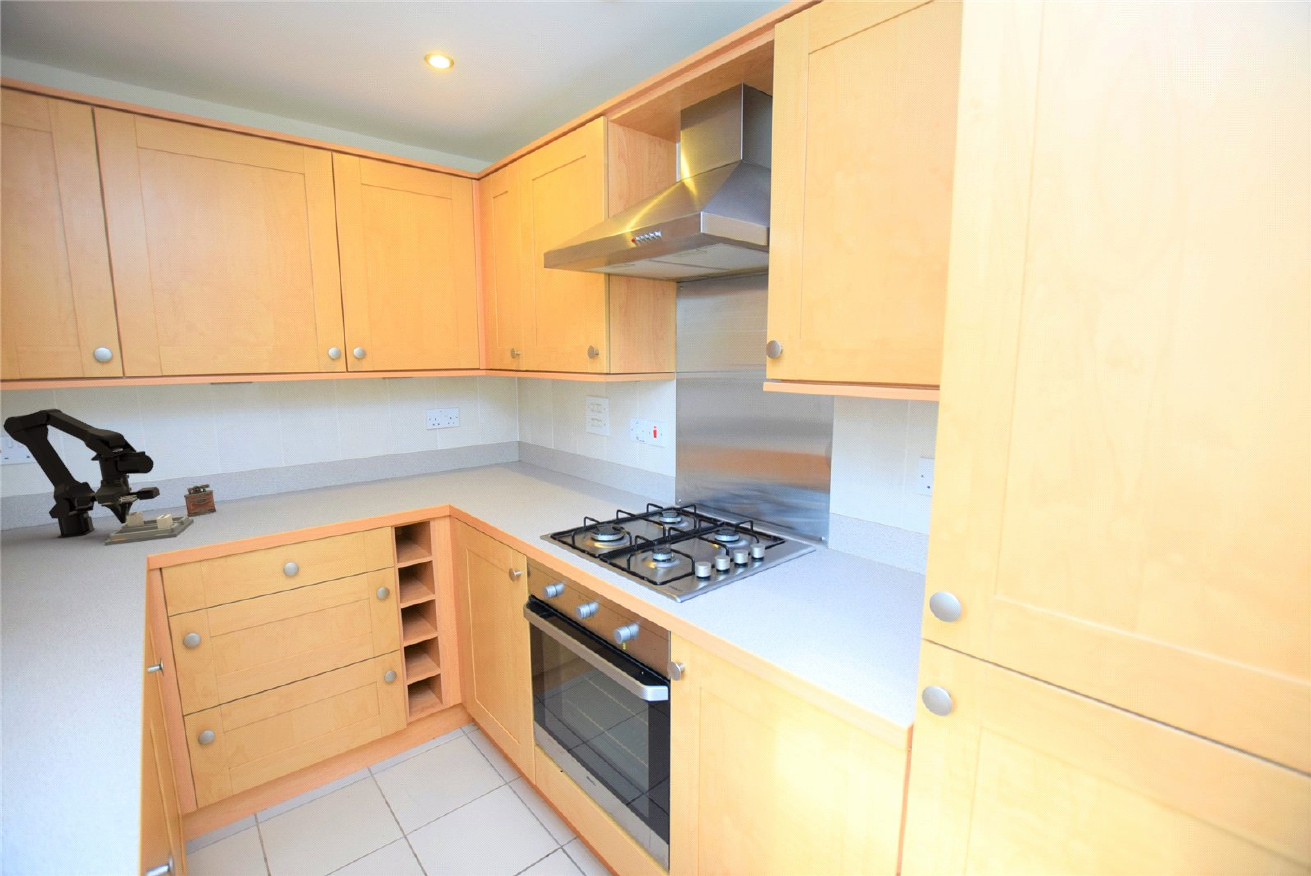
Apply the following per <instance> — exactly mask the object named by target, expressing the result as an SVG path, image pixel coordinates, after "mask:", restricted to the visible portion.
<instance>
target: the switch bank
mask: <svg viewBox="0 0 1311 876" xmlns="http://www.w3.org/2000/svg"><path fill="white" fill-rule="evenodd" d="M156 519H157V518H154V519H153V518H152V519H145V520H144V519H143V521H144V525H136V526H128V524H127V523H124V524H123V525H122V526H121V528H120V529H117V530H114V531H113V532H112V533H110V534H109V535H108V537H109V538H108V539H107V540H105V541H104V544H103V545H104V546H110V545H119V544H126V543H127V544H128V543H134V542H135V543H136V542H144V541H145V542H146V541H153V540H159V539H160V540H161V539H169V538H176V537H178V536H179V535H181V533H183V532H184V531H185V530H187V529H188V528H189V527H190V526H191V525H192V524H193V523H194V522H195V521H194V520H195V519H194V518H190V517H188V516H187V515H182V516H181V515H180V516H179V515H178V516H172V521H173V526H172V527H171V528H166V529H158V526H157V520H156ZM182 531H183V532H182Z"/></svg>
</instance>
